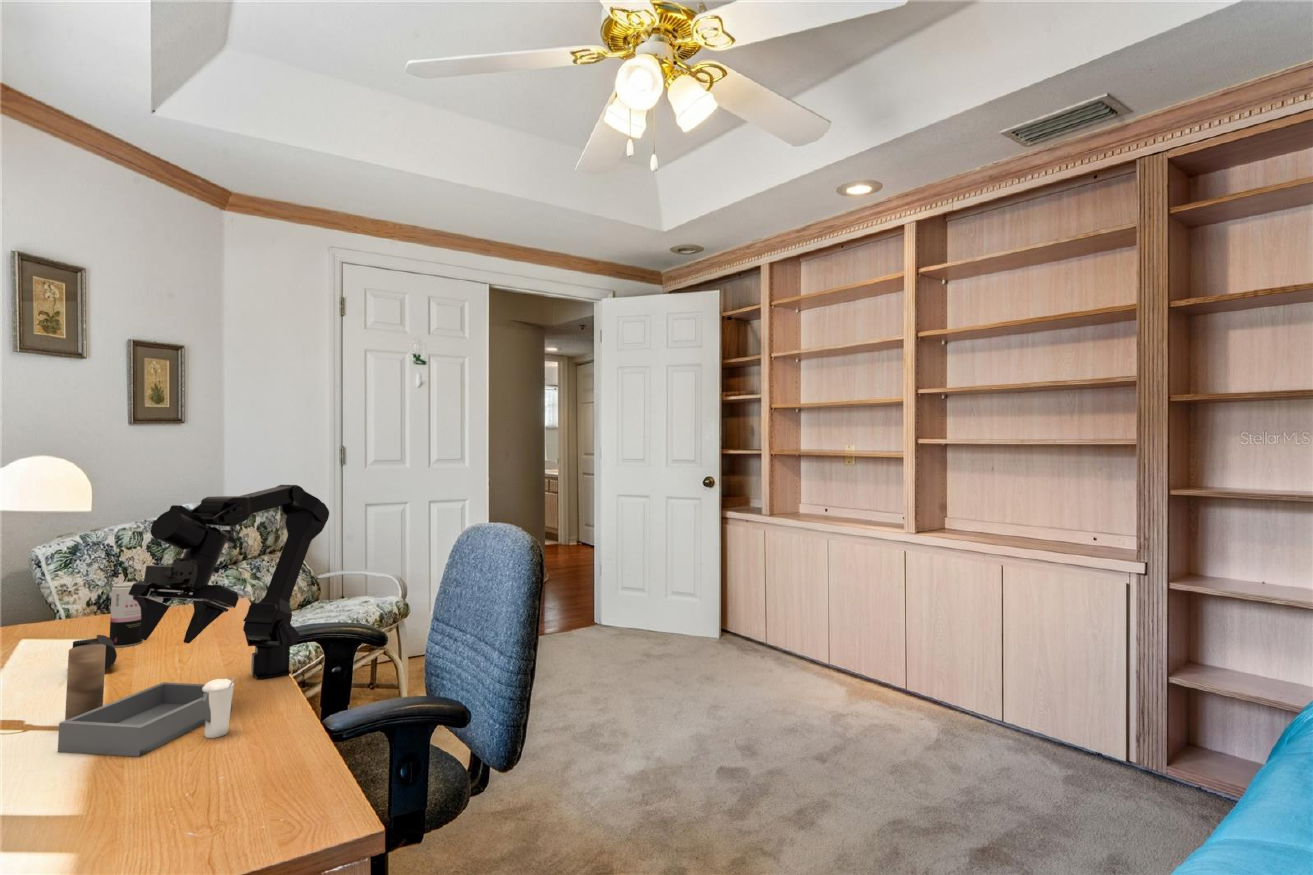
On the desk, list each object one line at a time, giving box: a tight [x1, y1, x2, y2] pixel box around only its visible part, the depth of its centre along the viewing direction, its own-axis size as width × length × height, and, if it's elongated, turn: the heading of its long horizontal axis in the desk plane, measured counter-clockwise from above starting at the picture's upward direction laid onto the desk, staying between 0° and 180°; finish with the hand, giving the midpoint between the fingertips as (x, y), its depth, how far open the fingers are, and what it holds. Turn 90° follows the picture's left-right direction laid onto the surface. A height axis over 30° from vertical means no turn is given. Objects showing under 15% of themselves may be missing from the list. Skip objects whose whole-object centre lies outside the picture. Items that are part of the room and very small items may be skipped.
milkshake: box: [202, 675, 236, 739], centre depth 113 cm, size 4×5×10 cm
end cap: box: [72, 634, 118, 672], centre depth 146 cm, size 10×7×7 cm
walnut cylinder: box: [64, 644, 106, 721], centre depth 117 cm, size 5×5×13 cm
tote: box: [57, 681, 234, 758], centre depth 115 cm, size 20×14×4 cm
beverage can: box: [108, 581, 143, 648], centre depth 167 cm, size 7×6×15 cm
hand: (164, 641), depth 120 cm, fingers open, 9 cm apart
